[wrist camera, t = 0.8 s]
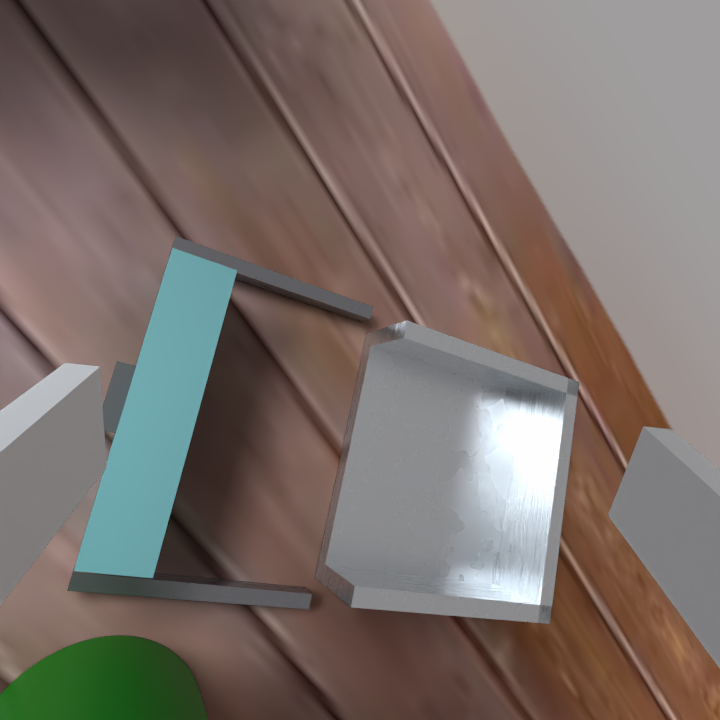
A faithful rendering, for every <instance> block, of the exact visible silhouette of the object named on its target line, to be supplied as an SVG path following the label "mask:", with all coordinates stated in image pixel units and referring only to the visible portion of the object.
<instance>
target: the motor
mask: <svg viewBox="0 0 720 720" xmlns="http://www.w3.org/2000/svg"><path fill="white" fill-rule="evenodd" d="M0 720H208V716H207V713H206V710H205V707H204V704H203V700H202V697H201V694H200V691H199V688H198V684H197V682H196V680H195V678H194V676H193V674H192V672H191V671H190V669H189V668H188V666H187V665H186V664H185V663H184V661H183V660H182V659H181V658H180V657H179V656H177V655H176V654H175V653H174V652H172V651H171V650H170V649H168V648H166V647H165V646H163V645H161V644H159V643H156V642H154V641H151V640H148V639H144V638H139V637H133V636H106V637H99V638H94V639H89V640H86V641H82V642H79V643H76V644H73V645H71V646H68V647H66V648H63V649H61V650H59V651H57V652H55V653H53V654H51V655H49V656H47V657H46V658H44V659H42V660H41V661H39V662H38V663H36V664H35V665H33V666H32V667H30V668H29V669H28V670H26V671H25V672H24V673H23V674H21V675H20V676H19V677H18V678H17V679H15V680H14V681H13V682H12V683H11V684H10V685H9V686H8V687H7V688H6V689H5V690H4V691H3V692H2V693H1V694H0Z"/></svg>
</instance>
